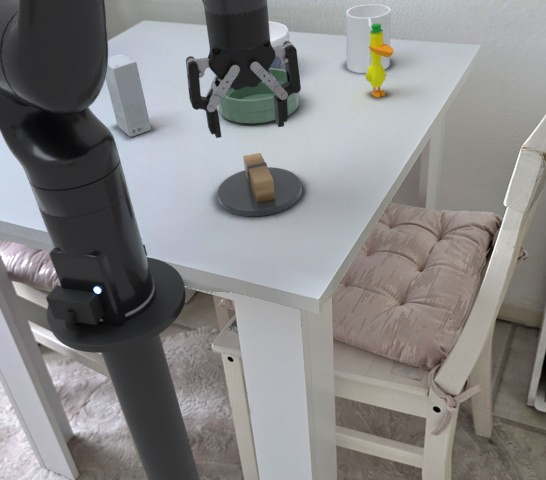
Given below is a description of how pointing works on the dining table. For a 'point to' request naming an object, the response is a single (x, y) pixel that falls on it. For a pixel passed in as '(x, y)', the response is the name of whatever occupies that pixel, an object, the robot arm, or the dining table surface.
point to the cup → (365, 35)
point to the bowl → (277, 38)
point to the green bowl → (255, 102)
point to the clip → (259, 177)
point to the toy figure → (377, 59)
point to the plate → (243, 202)
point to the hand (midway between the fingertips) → (249, 130)
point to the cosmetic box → (127, 95)
